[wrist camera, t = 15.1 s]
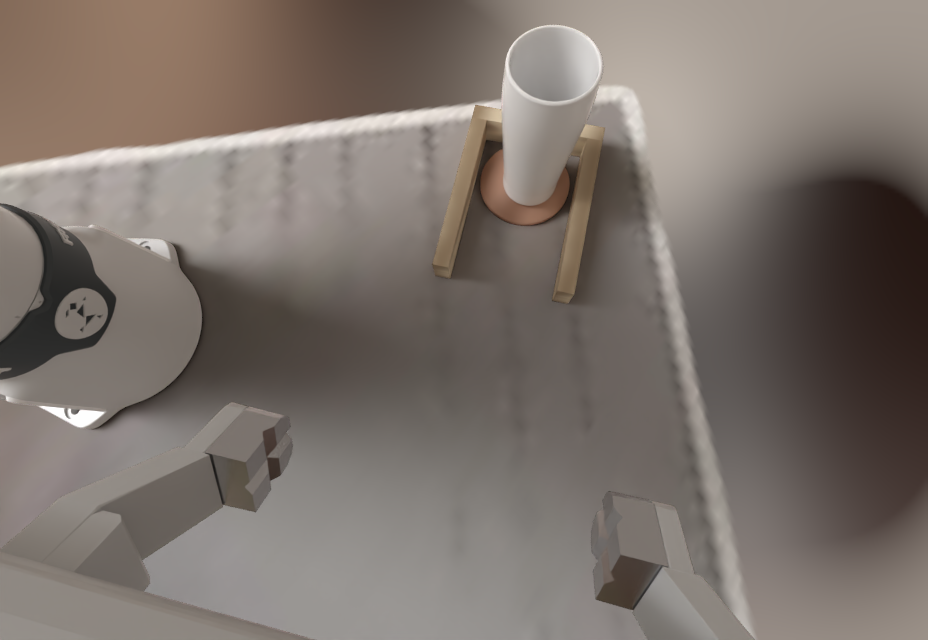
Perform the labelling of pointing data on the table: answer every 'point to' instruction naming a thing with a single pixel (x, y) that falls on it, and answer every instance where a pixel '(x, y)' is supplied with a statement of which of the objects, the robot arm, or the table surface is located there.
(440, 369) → the table surface
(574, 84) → the white cup
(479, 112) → the guide channel
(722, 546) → the table surface
